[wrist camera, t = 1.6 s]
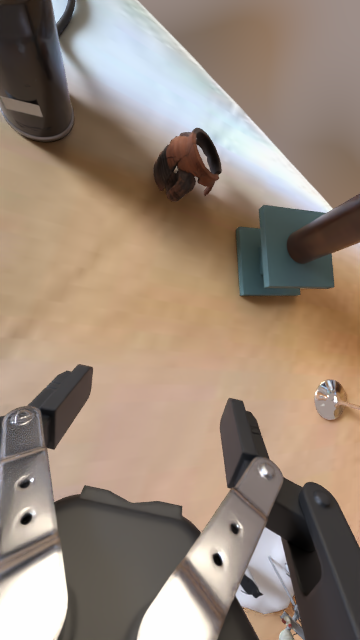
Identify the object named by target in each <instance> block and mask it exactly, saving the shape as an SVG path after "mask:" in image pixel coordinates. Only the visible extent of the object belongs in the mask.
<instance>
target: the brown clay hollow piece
mask: <svg viewBox="0 0 360 640" xmlns="http://www.w3.org/2000/svg"><path fill="white" fill-rule="evenodd" d="M196 144H197V145H199V146H200V147H201V148H202V150H203V152H204V154H205V155H206V156H207V162H208V164H209V167H210V171H211V172H210V171H209V170H208V169H207V168H206V167H205V165H204V163H203V161H202V159H201V157H200V155H199V152H198V149H197V145H196ZM176 166H177V168H178V171H177V173H174V172H173V171H174V169H175V168H176ZM220 173H221V162H220V158H219V155H218V153H217V150H216V148H215V146H214V144H213V142H212V140H211V139H210V137H209V136H208V135H207V133H206V132H205V131H203V130H202V129H200V128H195V129H194V130H193V131H192V132H184V133H181V134H180V136H176V137H175V138H174V139H172V140H171V142H170V144H169V145H167V146H166V147H165V149H164V150H163V151H162V152H161V153H160V154H159V157H158V159H157V161H156V162H155V164H154V177H155V181H156V183H157V185H158V187H159V189H160V191H163V190H164V188H166V191H167V192H166V195H167V198H168V199H169V200H171V201H174V202H176V201H178V200H180V199H181V198H182V197H184V196H185V194H187V193H188V192H190V191H191V190H192V189H193V187H194V185H195V183H196V180H195V178H194V177H198V183H199V184H201V185H203V186H207V188H206V189H205V190H204V195H205V196H206V195H207V194H208V193H209V192H210V191H211V189H212V187H213V185H214V183H215V181H216V180H218V179H219V177H218V175H219V174H220Z"/></svg>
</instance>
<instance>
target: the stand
mask: <svg viewBox="0 0 360 640" xmlns="http://www.w3.org/2000/svg"><path fill="white" fill-rule="evenodd" d="M324 214H326V213H322V212H314V211H307V210H299V209H291V208H283V207H276V206H268V205H263V206H262V207H261V208H260V209H259V219H260V229H258V228H248V227H238V228H237V229H236V240H237V256H238V272H239V288H240V296H298V295H300V288H310V289H329V288H333V287H334V276H333V265H332V254H328V255H326V256H323V257H321V258H318V259H315V260H313V261H310V262H308V263H304V264H301V263H297V262H296V261H294V260H293V259H292V258H291V257H290V255H289V253H288V250H287V240H288V238H289V236H290V235H291V234H292V233H293V232H295V231H297V230H298V229H300V228H302V227H304V226H305V225H307V224H309V223H310V222H312V221H314V220H315V219H317V218H319V217H321V216H322V215H324Z"/></svg>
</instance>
